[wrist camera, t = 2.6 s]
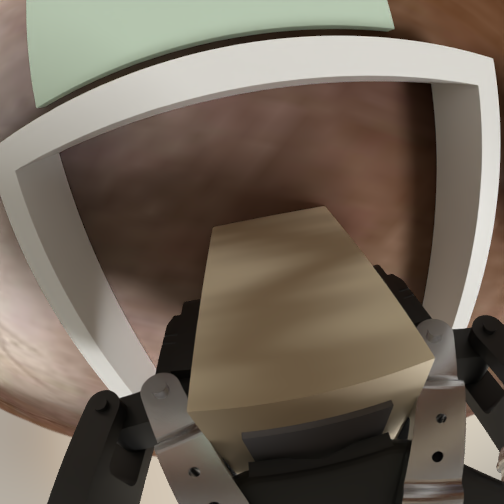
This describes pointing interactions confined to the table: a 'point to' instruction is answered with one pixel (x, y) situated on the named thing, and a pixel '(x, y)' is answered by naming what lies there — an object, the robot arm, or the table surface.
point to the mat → (163, 31)
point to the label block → (299, 343)
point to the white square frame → (233, 83)
